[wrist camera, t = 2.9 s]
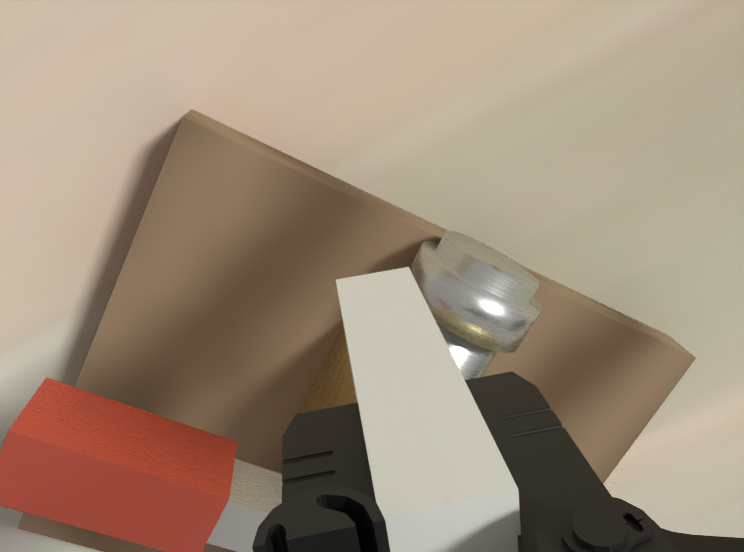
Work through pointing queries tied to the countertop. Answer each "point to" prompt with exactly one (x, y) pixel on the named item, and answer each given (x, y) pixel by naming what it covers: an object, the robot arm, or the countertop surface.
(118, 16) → the countertop surface
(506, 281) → the valve pipe
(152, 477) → the valve lever
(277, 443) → the mounting board
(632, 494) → the countertop surface
